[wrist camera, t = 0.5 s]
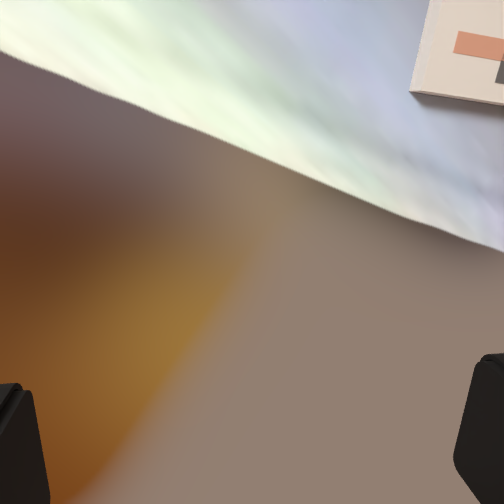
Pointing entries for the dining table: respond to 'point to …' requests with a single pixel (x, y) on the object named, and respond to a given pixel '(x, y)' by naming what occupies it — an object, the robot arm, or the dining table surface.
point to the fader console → (462, 51)
